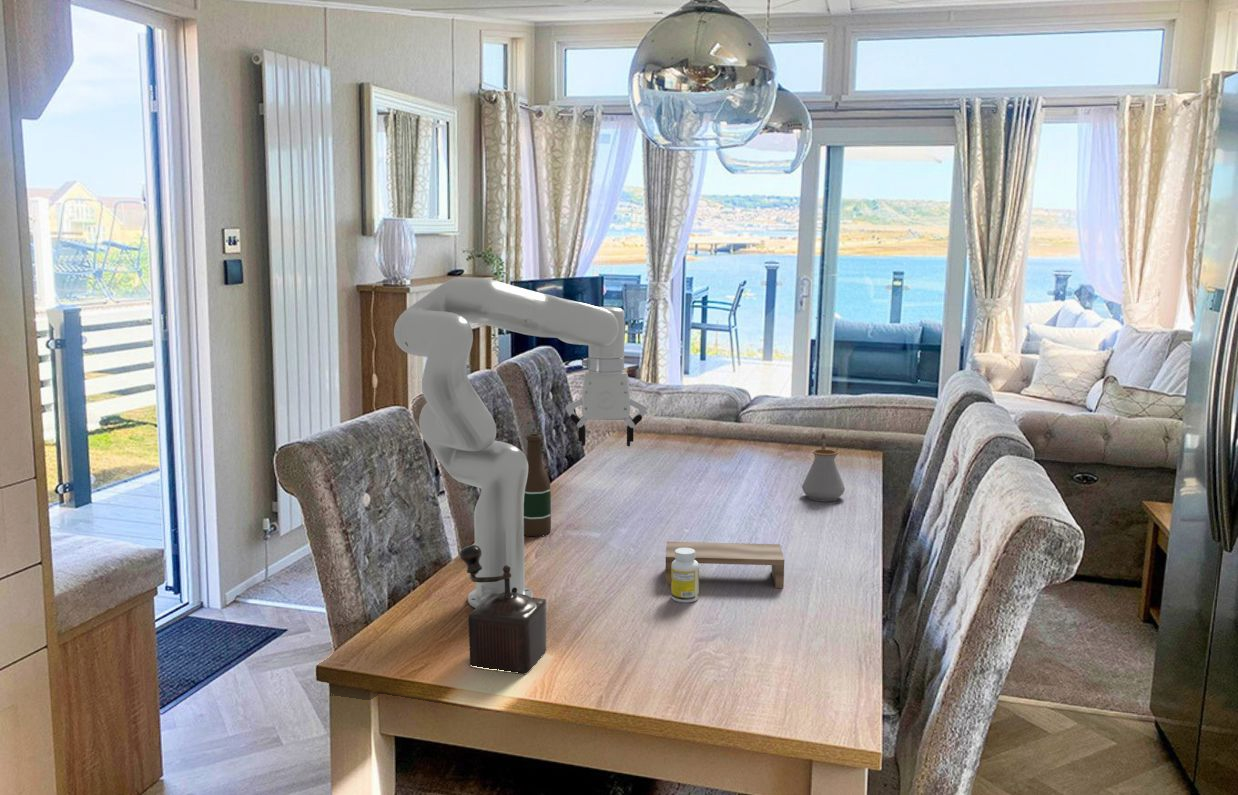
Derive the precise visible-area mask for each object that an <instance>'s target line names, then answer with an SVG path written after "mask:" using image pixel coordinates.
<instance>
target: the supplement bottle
mask: <svg viewBox="0 0 1238 795" xmlns="http://www.w3.org/2000/svg"><path fill="white" fill-rule="evenodd" d="M675 558H676V560H674V561H673V562H672V565H671V585H670V587H671V588H670V590H671V591H670V592H671V593H670V595H671V599H672V600H674V601H675V602H677V603H685V604H686V603H687V604H689V603H693V602H695V601H697V600H698V599H699V595H700V594H699V593H700V592H699V590H700V588H699V587H700V585H699V584H700V583H699V582H700V581H699V580H700V575H699V574H700V569H699V568H700V566H699V564H700V563H698V562H697V561H696V560H694V559H695V550H694V549H691V548H678V549H676V550H675Z"/></svg>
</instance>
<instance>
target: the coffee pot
mask: <svg viewBox="0 0 1238 795" xmlns="http://www.w3.org/2000/svg"><path fill="white" fill-rule="evenodd" d="M820 436H821V437H820V440H821V449H819V448H818V449H814V450H813V451H812V454H813V456H814V460H813V462H812V464H811V466H810V468H809V471H808V472H807V475H806V477H805V478H804V481H803V483H802V485H801V488H802V491H803V494H805V496H807V497H808V498H809V500H813V501H816V502H834V501H837V500H838V498H840V497H841V496H842V495H843V494H844V492H845V490H846V488H845V484H844V483H843V479H842V477H841V475H840V472H839V469H838V467H837V464H836V461H835V459H836V457H837V455H838V454H839V452H838V451H836V450H832V449H826V447H827V446H826V445H827V442H826V440H827V439H828V437H829V436H828V435H827V434H826V433H824V432H823V433H821V434H820Z"/></svg>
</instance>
